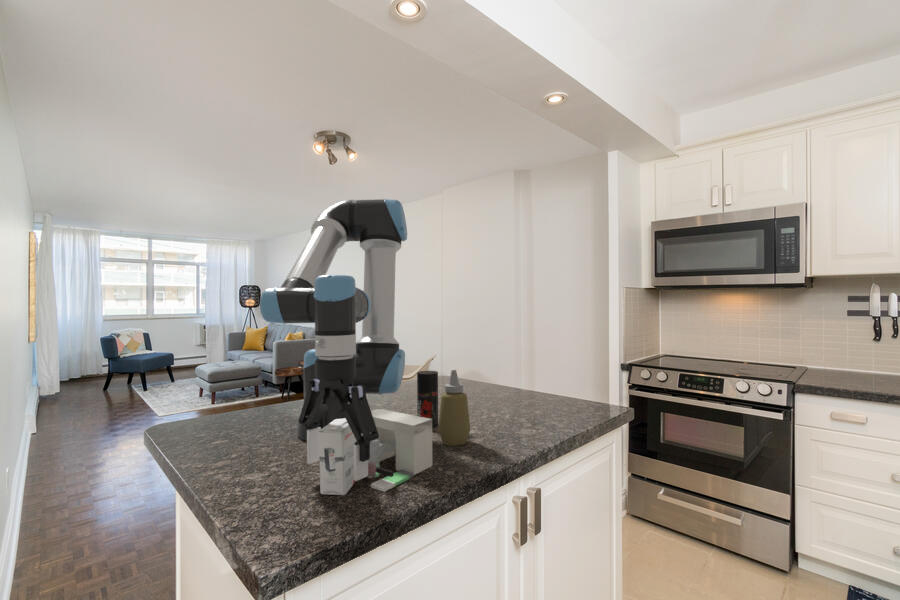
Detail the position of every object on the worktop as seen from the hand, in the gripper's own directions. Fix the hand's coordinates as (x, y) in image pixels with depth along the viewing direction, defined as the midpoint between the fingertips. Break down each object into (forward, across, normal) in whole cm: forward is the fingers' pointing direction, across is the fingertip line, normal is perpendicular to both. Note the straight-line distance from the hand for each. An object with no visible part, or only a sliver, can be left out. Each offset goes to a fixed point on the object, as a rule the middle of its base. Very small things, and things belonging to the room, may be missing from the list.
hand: (336, 469), depth 81 cm
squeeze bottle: (+4, +3, +34) cm, 34 cm away
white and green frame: (+3, 0, +11) cm, 12 cm away
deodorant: (+4, -12, +42) cm, 44 cm away
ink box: (+4, 0, +1) cm, 4 cm away
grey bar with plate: (+3, +2, +11) cm, 11 cm away
